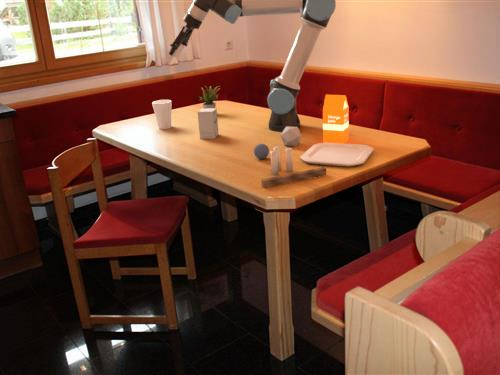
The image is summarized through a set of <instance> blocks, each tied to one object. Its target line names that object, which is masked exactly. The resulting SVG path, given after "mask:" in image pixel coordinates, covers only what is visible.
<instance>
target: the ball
mask: <svg viewBox="0 0 500 375" xmlns="http://www.w3.org/2000/svg"><path fill="white" fill-rule="evenodd" d="M269 148H270V147H268V146H267V145H266V144H265V143H258V144H256V145H255V146H254V149H253V154H254V156H255V157H256V158H257V159H259V160H264V159H266V158H268V156H269V153H270V149H269Z"/></svg>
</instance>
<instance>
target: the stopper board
mask: <svg viewBox="0 0 500 375" xmlns="http://www.w3.org/2000/svg"><path fill="white" fill-rule="evenodd" d="M323 175H326V176H327V168H326V167H324V166H323V167H317V168H312V169H307V170H303V171H298V172H290V173H286V174H282V175H278V176H277V175H275V176H272V177H267V178H262V179H261V180H260V181H261V187H262V188H263V187H267V188H270V187H269V186H272V187H275V186H274V185H277V186H280V185H279V184H282V185H285V184H284V183H287V184H291V183H290V182H292V183H296V182H295V181H297V182H300V180H301V181H306V180H311V179H315V178H314V177H316V178H320V177H319V176H321V177H324V176H323ZM310 178H311V179H310Z"/></svg>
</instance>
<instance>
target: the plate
mask: <svg viewBox="0 0 500 375" xmlns="http://www.w3.org/2000/svg"><path fill="white" fill-rule="evenodd" d="M374 150H375V149H374V148H373V147H372V146H370V145H367V144H359V143H358V144H357V143H329V142H324V143H323V142H318V143H314V144H313V145H311V146H310V147H309V148H308V149H307V150H306V151H305V152H304V153H303V154H302V155H301V156H299V159H300V160H302V161H304V162H305V163H308V164H311V165H319V164H320V165H322V166H331V165H333V166H334V167H343V166H346V167H345V168H350V167H356V165H357V166H360V165H363V164H364V163H366V161H367V160H368V159H369V157H370V156H371V155H372V153H373V152H374ZM333 166H332V167H333Z"/></svg>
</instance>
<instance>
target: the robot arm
mask: <svg viewBox="0 0 500 375" xmlns="http://www.w3.org/2000/svg"><path fill="white" fill-rule="evenodd" d="M336 5H337V4H336V0H192V4H191V3H189V8H188V10H187V12H186V14H185V15H184V17H183V22H184V23H185V26H182V28H181V30H180V31H179V33H178V35H177V36H176V37H175V40H174V41H173V42H172V43H170V45H169V46H170V49H169V51H168V53H167V54H166V56H165V58H164V61H166V62H167V63H169V64H170V63H172V60H173V59H174V57H175V58H176V59H179V58H180V56H181V54H182V52H183V50H184V49H185V47H188V45H189V44H188V43H189V41H190V38H191V36H192V34H193V32H194V30H195V29H196V30H199V29H200V27H201V25H202V24H203V22H204V20H205V18H206V17H207V15H208V13H209V12H210V11H211V12H213V13H215V14H216V15H218V16H219V17H220V18H222V19H223V20H225V22H228V23H229V24H231V25H234V24H236V22H237V21H238V19H239V18H240V17H257V16H258V17H259V16H273V15H274V16H275V15H293V14H296V15H298V14H300V20H301V24H300V27H299V28H298V32H297V34H296V36H295V39H294V41H293V43H292V44H293V45H291V46H292V47H291V48H290V51H289V54H288V56H287V59H286V61H285V64H284V66H283V69H282V71H281V73H280V75H279V76H276V77H275V78H274V79H271V80H270V83H269V87H270V90H269V93H268V95H267V98H266V99H267V100H266V101H267V105H268V108H269V110H270V111H271V112H270V116H269V120H268V129H269V130H271V131H276V132H283V130H284V129H285V127H298V129H300V128H301V120H300V117H299V115H298V112H297V97H298V94H299V92H300V90H301V86H300V84H299V83H300V81H301V78H302V76H303V74H304V71H305V69H306V67H307V64H308V61H309V60H310V57H311V55H312V52H313V50H314V48H315V45H316V43H317V41H318V39H319V36H320V34H321V32H322V31H323V30H325V29H326V28H327V26H328V24H329V22H330V19H331V17H332V15H333V14H334V13H335V10H336Z"/></svg>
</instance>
